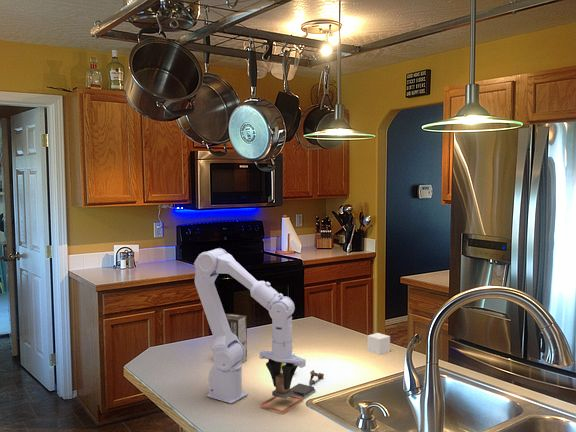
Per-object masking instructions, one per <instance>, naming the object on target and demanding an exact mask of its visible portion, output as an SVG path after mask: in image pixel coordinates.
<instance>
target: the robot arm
mask: <svg viewBox="0 0 576 432" xmlns="http://www.w3.org/2000/svg"><path fill="white" fill-rule="evenodd" d="M193 265H194V268H195V270H194V271H195V273H194V284H195V285H194V286H195V288H196V291H197V294H198V297H199V299H200V302H201V305H202V308H203V311H204V314H205V316H206V319H207V322H208V325H209V328H210V331H211V333H212V336H213V341H212V342H213V343H212V346H211V347H212V348H211V350H212V353H213V357H212V358H213V364H214V365H212V366H211V368H210V370H209V373H208V394H206V396H207V397H208V398H211V399H215V400H218V401H221V402H225V403H227V404H228V403H229V404H234V403H236V402H237V401H239V400H241V399H243V398H244V397H246V396H248V392H245V391H242V390H243V389H242V387H243V386H242V379H243V378H242V375H243V374H242V370H243V369H242V366H243V365H242V364H243V363H242V364H241V360H242V359H243V357H244V355H245V349H244V347H243V345H242V344H241V343H240V342H239V340H238V338H237V336H236V335H235V334H233V333H232V332H231V329H230V327H229V324H228V321H227V318H226V315H225V314H226V313H225V310H224V307H223V304H222V301H221V298H220V296H219V294H218V293H219V292H218V290H217V287H216V285H215V284H216V283H215V281H216V279H217V278H218V276H219V274H220V275H221V274H227V275H229V276H231V277H232V278H233V279H235V280H236V281H237V282H238V283H240V284H241V285H242V286H244V287H245V288H247V289H248V290H249V292H250V294H249V295H250V297H251V298H252V299H254V300H255V301H256V302H257V303H259V305H261V306H262V307H263V308H265V309H266V310H267V311H268V314H269V316H270V318H271V319H272V321H271V322H272V323H271V327H272V328H271V330H272V331H271V350H270V351H269V350H261V351H259V360H260V359H261V360H265V359H266V360H268V361H267V362H265V366H266V368H267V370H268V371H269V374H270V376H271V380H272V384H273V387H275V388H276V376H277V375H279V374H280V371H281V365H282V363H286V365H284V366H282V371H283V376H284V389H286V390H287V389H289V388H291V384H292V381H293V377H294V376H295V373H296V370H297V368H298V367H299V368H300V369H303V368H304V367H306V361H307V360H306V359H305V358H301V357H299V356H297V355H293V354H292V351H293V349H292V345H293V315H292V314H294V312H295V309H296V307H295V303H294V301H293V300H292V298H291V297H289V296H284V294H283V293H281V292H280V293H279V292H278V291H277V290H276V289H275V288H273V287H272V286H271V282H269V281H265V280H257V279H256V278H255V277H254V276H253V275H252V274H251V273H249V272H248V271H247V270H246V269H245V267H243V266H242V265H241V264H240V263H239V262H238V261H236V259H235V258H234V256H233V255H232V254H230V253H229V252H227V251H226V250H225V249H223V248H221V247H218V248H214V249H211V250H208V251H203V252H201V253H199V254H198V256H197V257H196V259H195V260H194V263H193Z"/></svg>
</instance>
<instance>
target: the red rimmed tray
mask: <svg viewBox="0 0 576 432" xmlns="http://www.w3.org/2000/svg"><path fill="white" fill-rule="evenodd" d="M303 402H304V399H302V398H300V397H296V396H293V395H291V396H289V397H287V398H286V399H283V398H279V397H276V396H272V397H271V398H269V399H267V400H265V401H264V402H262V403H260V404H259V409H262V410H266V411H269V412H272V413H276V414H281V415H285V414H286V413H288V412H289V411H291V410H292V409H293V408H295V407H297V406H298V405H300V404H301V403H303Z"/></svg>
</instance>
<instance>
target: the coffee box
mask: <svg viewBox="0 0 576 432" xmlns="http://www.w3.org/2000/svg"><path fill="white" fill-rule="evenodd" d="M225 315H226V318H227V321H228V324H229V327H230V329H231V332H232V333H233V334H235V335H236V336H237V338H238V340H239V342H240V343H241V344H242V345H243V347H244V349H245V355H244V357H243V359H242V360H241V364H243V363H245V362H246V361H248V332H247V331H248V329H247V328H248V326H247V325H248V322H247V321H248V320H247V318H248V316H247V315H242V314H235V313H225Z"/></svg>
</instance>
